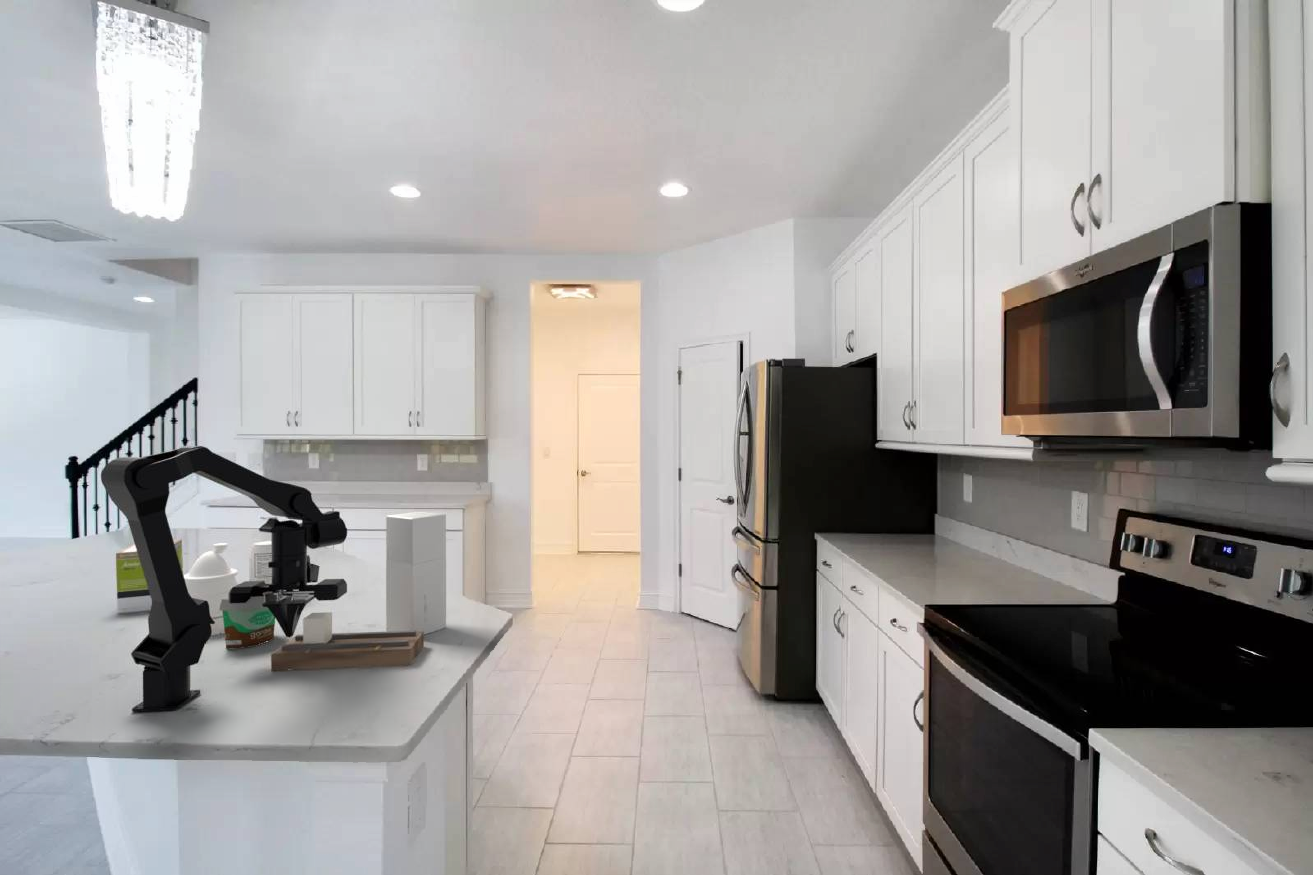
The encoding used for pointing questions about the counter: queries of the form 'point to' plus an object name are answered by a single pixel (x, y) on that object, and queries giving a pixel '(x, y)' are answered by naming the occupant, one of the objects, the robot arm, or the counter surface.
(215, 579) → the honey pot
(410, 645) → the slider track
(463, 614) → the counter surface
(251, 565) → the supplement can
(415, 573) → the tall white carton
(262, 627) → the food container
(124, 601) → the tea box
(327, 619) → the slider tab
